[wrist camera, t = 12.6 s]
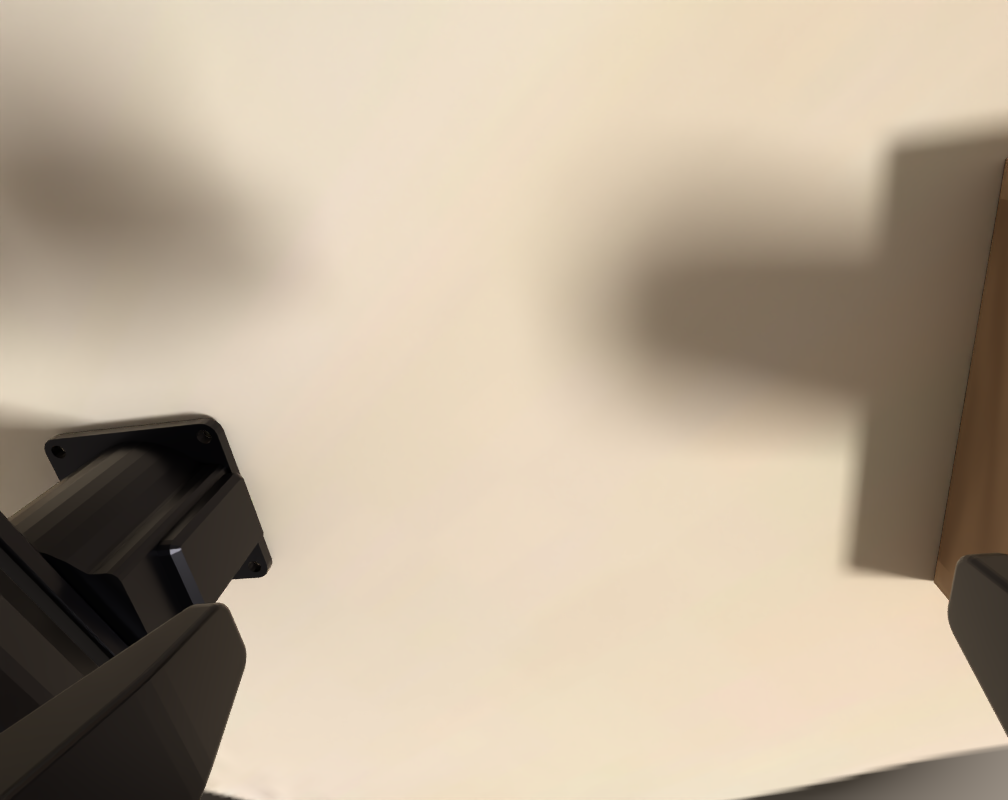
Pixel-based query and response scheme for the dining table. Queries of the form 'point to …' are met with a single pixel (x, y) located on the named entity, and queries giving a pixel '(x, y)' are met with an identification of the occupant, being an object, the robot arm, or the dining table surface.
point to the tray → (982, 426)
